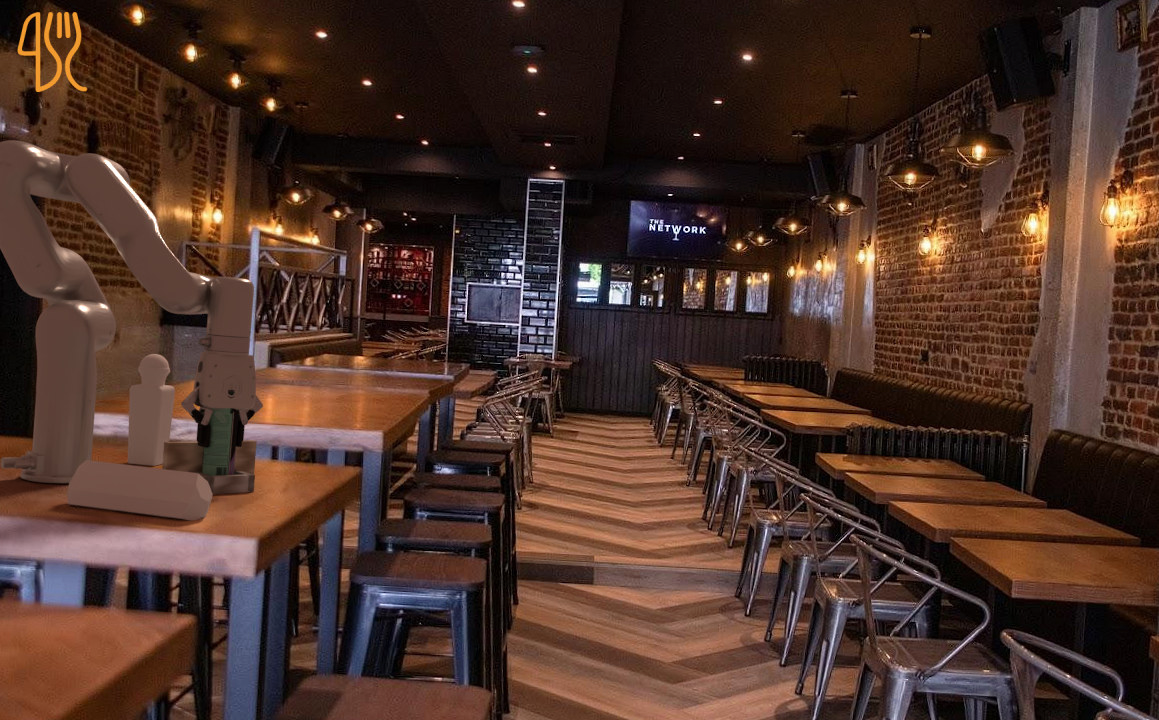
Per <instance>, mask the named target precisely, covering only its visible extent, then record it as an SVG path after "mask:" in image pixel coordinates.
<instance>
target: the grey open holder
mask: <svg viewBox="0 0 1159 720" xmlns="http://www.w3.org/2000/svg"><path fill="white" fill-rule="evenodd" d="M203 450H204V447H201V446H198V442H197V440H195V441H191V440H190V441H169V442H164V451H163V464H161V465H162V468H161V469H166V470H174V471H183V472H191V473H198V474H200V475H201V476H202V477H203V478H204V479H205V480H206V481H208V483H209V486H210V488H211V491H212V494H213V495H217V494H219V495H220V494H237V493H254V491H255V482H256V481H255V480H256V475H255V466H256V454H257V453H256V452H257V441H256V440H254V439H249V440H245V439H244V440H243V441H242V446H241V447H237V446H236V452H235V465H234V475H222V476H210V475H207V474H204V473H202V463H203Z"/></svg>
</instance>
